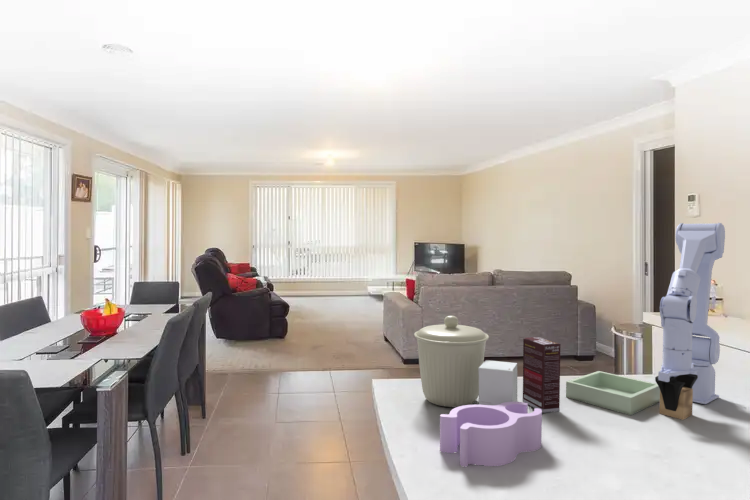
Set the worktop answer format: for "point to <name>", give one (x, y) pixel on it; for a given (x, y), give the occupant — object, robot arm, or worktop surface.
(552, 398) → the supplement box
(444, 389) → the canister
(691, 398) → the oak block
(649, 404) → the bin
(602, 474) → the worktop surface
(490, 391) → the supplement box
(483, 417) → the clip
